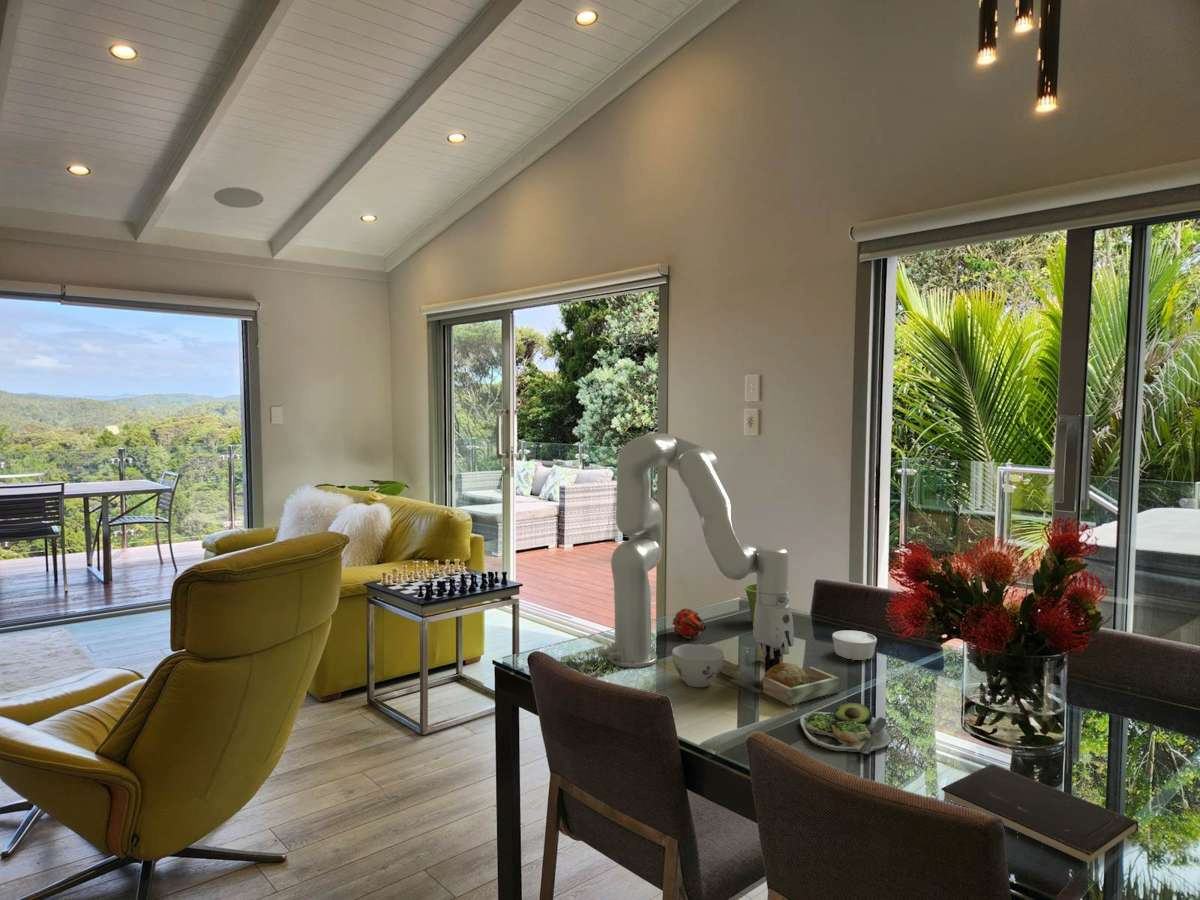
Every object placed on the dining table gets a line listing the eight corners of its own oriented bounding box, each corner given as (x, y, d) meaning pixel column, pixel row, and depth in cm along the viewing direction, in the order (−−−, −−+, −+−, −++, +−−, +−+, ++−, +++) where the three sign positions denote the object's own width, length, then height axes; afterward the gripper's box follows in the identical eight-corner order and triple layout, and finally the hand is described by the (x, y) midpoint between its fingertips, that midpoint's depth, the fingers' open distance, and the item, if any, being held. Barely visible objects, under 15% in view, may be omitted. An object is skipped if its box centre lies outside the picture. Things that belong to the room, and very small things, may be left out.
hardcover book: (1089, 868, 110) (1089, 853, 109) (941, 801, 129) (941, 787, 129) (1138, 833, 118) (1138, 819, 118) (993, 775, 138) (993, 762, 137)
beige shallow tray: (783, 707, 168) (783, 691, 168) (709, 670, 192) (709, 657, 192) (845, 691, 177) (845, 676, 177) (767, 658, 201) (767, 645, 201)
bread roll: (791, 714, 173) (806, 686, 171) (752, 687, 178) (766, 659, 176) (805, 700, 181) (820, 673, 179) (768, 675, 186) (782, 648, 184)
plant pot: (760, 616, 241) (760, 581, 241) (791, 624, 232) (791, 587, 232) (735, 623, 234) (736, 587, 233) (767, 631, 225) (767, 594, 224)
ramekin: (882, 662, 197) (882, 642, 197) (839, 662, 197) (839, 642, 197) (868, 649, 208) (868, 630, 208) (827, 649, 208) (827, 630, 208)
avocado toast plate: (909, 763, 142) (910, 739, 142) (811, 760, 144) (812, 736, 143) (881, 721, 161) (881, 699, 161) (795, 718, 163) (795, 697, 163)
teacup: (734, 688, 180) (734, 654, 179) (688, 696, 175) (688, 662, 174) (701, 668, 194) (701, 637, 193) (658, 675, 189) (657, 643, 188)
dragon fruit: (680, 634, 228) (699, 652, 217) (660, 621, 224) (678, 638, 213) (697, 611, 228) (716, 627, 217) (677, 597, 225) (696, 613, 214)
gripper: (806, 603, 179) (805, 679, 180) (763, 590, 193) (763, 661, 194) (781, 607, 176) (781, 685, 177) (740, 593, 189) (740, 666, 190)
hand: (772, 672), depth 185 cm, fingers closed
